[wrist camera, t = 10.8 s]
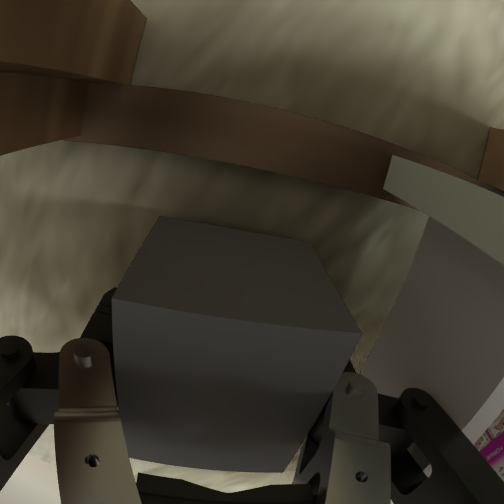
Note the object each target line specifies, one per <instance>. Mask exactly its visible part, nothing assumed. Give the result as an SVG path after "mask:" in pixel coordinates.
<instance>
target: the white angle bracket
mask: <svg viewBox="0 0 504 504" xmlns="http://www.w3.org/2000/svg"><path fill="white" fill-rule="evenodd" d="M383 189H384V190H386V191H388V192H389V193H391V194H393V195H395V196H397V197H398V198H400V199H402V200H404V201H405V202H407V203H409V204H410V205H412V206H414V207H415V208H417V209H419V210H421V211H422V212H424V213H425V214H427V215H429V218H428V221H427V224H426V227H425V229H424V232H423V235H422V238H421V240H420V243H419V246H418V248H417V251H416V254H415V256H414V259H413V261H412V264H411V266H410V269H409V271H408V274H407V276H406V278H405V281H404V283H403V285H402V288H401V290H400V292H399V295H398V297H397V299H396V301H395V304H394V306H393V308H392V310H391V312H390V314H389V316H388V319H387V321H386V323H385V325H384V327H383V329H382V331H381V333H380V335H379V337H378V339H377V341H376V343H375V345H374V347H373V349H372V351H371V353H370V355H369V357H368V358H367V360H366V362H365V364H364V366H363V368H362V370H361V371H360V372H361V375H363V376H365V377H366V378H368V379H369V380H370V381H371V382H372V383H373V384H374V385H375V387H376V389H377V393H379V394H383V395H387V396H391V397H396V398H399V397H400V395H401V394H402V392H403V391H404V390H405V389H407V388H418V389H421V390H424V391H426V392H427V393H429V394H430V395H431V396H432V397H433V398H434V399H435V400H436V402H437V403H438V404H439V405H440V406H441V407H442V409H443V410H444V411H445V412H446V413H447V414H448V415H449V417H450V418H451V419H452V420H453V421H454V422H455V424H456V425H457V426H458V427H459V428H460V430H461V431H462V432H463V433H464V434H465V435H466V437H467V438H468V439H469V440H470V441H471V443H472V444H474V443H475V442H476V440H477V439H478V438H479V437H480V436H481V435H482V434H483V433H484V432H485V431H486V429H487V428H488V427H489V426H490V425H491V424H492V423H493V421H494V420H495V419H496V418H497V417H498V415H499V414H500V413H501V412H502V411H503V409H504V197H503V196H500V195H498V194H496V193H494V192H491V191H489V190H487V189H484V188H482V187H479V186H477V185H475V184H472V183H470V182H467V181H465V180H462V179H460V178H457V177H454V176H452V175H449V174H447V173H444V172H441V171H438V170H436V169H433V168H430V167H427V166H424V165H422V164H419V163H416V162H413V161H410V160H407V159H404V158H400V157H397V156H394V155H392V159H391V162H390V166H389V170H388V173H387V177H386V180H385V183H384V187H383ZM407 450H408V451H409V453H410V454H411V455H412V457H413V458H414V459H415V461H416V462H417V464H418V465H419V466H420V468H421V469H422V470H423V472H424V473H425V474H426V476H427V477H428V478H429V477H430V475H431V473H432V467H431V464H430V462H429V461H428V460H427V458H426V457H425V456H424V454H423V453H422V452H421V450H420V449H419V448H418V446H417V445H416V444H415V442H413V443H412V444H411V446H410V447H409V448H408V449H407Z"/></svg>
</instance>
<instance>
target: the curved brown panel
mask: <svg viewBox="0 0 504 504" xmlns="http://www.w3.org/2000/svg"><path fill="white" fill-rule="evenodd" d="M146 20H147V18H146V17H145V16H144V15H143V14H142V13H141V11H140V10H139V9H138V8H137V7H136V6H135V5H134V4H133V3H132V2H131V1H130V0H0V156H1V155H4V154H8V153H11V152H15V151H18V150H22V149H26V148H29V147H33V146H37V145H41V144H45V143H50V142H54V141H58V140H66V141H78V142H88V143H98V144H107V145H116V146H124V147H132V148H140V149H147V150H154V151H161V152H168V153H175V154H181V155H187V156H193V157H199V158H205V159H211V160H216V161H222V162H227V163H232V164H237V165H243V166H248V167H253V168H257V169H262V170H267V171H272V172H276V173H281V174H285V175H290V176H294V177H299V178H303V179H307V180H311V181H315V182H320V183H324V184H328V185H332V186H336V187H339V188H343V189H347V190H351V191H355V192H358V193H362V194H366V195H369V196H373V197H377V198H380V199H384V200H387V201H391V202H394V203H397V204H401V205H404V206H407V207H411V208H414V209H417V208H415V207H414V206H412V205H410V204H409V203H407V202H405V201H404V200H402V199H400V198H398V197H397V196H395V195H393V194H391V193H389V192H388V191H386V190H384V189H383V187H384V183H385V180H386V177H387V173H388V170H389V166H390V162H391V159H392V155H394V156H397V157H400V158H404V159H407V160H410V161H413V162H416V163H419V164H422V165H424V166H427V167H430V168H433V169H436V170H438V171H441V172H444V173H447V174H449V175H452V176H454V177H457V178H460V179H462V180H465V181H467V182H470V183H472V184H475V185H477V186H479V187H482V188H484V189H487V190H489V191H491V192H494V193H496V194H498V195H500V196H503V197H504V130H501V129H496V128H490V132H489V137H488V141H487V146H486V150H485V154H484V158H483V162H482V166H481V169H480V173H479V177H478V180H477V179H475V178H473V177H471V176H469V175H467V174H465V173H463V172H461V171H458V170H456V169H454V168H452V167H450V166H447V165H445V164H443V163H440V162H438V161H436V160H433V159H431V158H429V157H426V156H424V155H421V154H419V153H416V152H414V151H411V150H409V149H406V148H404V147H401V146H398V145H396V144H393V143H390V142H388V141H385V140H382V139H379V138H376V137H373V136H370V135H368V134H365V133H362V132H359V131H355V130H352V129H349V128H346V127H343V126H340V125H336V124H333V123H330V122H326V121H323V120H319V119H316V118H312V117H308V116H305V115H301V114H297V113H293V112H289V111H285V110H281V109H277V108H273V107H268V106H264V105H259V104H255V103H250V102H245V101H240V100H235V99H230V98H224V97H219V96H213V95H207V94H201V93H194V92H187V91H180V90H172V89H164V88H155V87H145V86H134V85H131V80H132V75H133V71H134V66H135V62H136V58H137V53H138V49H139V45H140V42H141V38H142V34H143V30H144V27H145V23H146ZM417 210H419V209H417ZM420 211H421V210H420Z"/></svg>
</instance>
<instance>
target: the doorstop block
mask: <svg viewBox="0 0 504 504" xmlns="http://www.w3.org/2000/svg"><path fill="white" fill-rule="evenodd" d="M112 331H113V352H114V367H115V380H116V390H117V400H118V409H119V414H120V419H121V424H122V429H123V433H124V438H125V443H126V447H127V451H128V455H129V458H134V459H139V460H144V461H150V462H155V463H161V464H168V465H175V466H182V467H190V468H199V469H209V470H221V471H236V472H284V470H285V469H286V467H287V466H288V464H289V463H290V461H291V460H292V458H293V457H294V455H295V454H296V452H297V451H298V449H299V447H300V446H301V444H302V443H303V441H304V439H305V438H306V436H307V435H308V433H309V431H310V430H311V428H312V426H313V425H314V423H315V421H316V420H317V418H318V416H319V414H320V413H321V411H322V409H323V408H324V406H325V404H326V402H327V400H328V399H329V397H330V395H331V393H332V391H333V390H334V388H335V386H336V384H337V382H338V380H339V378H340V376H341V375H342V373H343V371H344V369H345V367H346V365H347V363H348V361H349V359H350V357H351V355H352V353H353V351H354V349H355V347H356V345H357V343H358V341H359V339H360V336H361V334H362V332H361V331H360V329H359V327H358V325H357V324H356V322H355V320H354V318H353V316H352V315H351V313H350V311H349V309H348V308H347V306H346V304H345V302H344V301H343V299H342V297H341V296H340V294H339V292H338V290H337V289H336V287H335V285H334V284H333V282H332V280H331V278H330V277H329V275H328V273H327V272H326V270H325V268H324V267H323V265H322V263H321V262H320V260H319V258H318V257H317V255H316V253H315V252H314V250H313V248H312V247H311V245H310V243H309V242H304V241H299V240H293V239H288V238H283V237H277V236H272V235H266V234H261V233H255V232H250V231H244V230H239V229H233V228H227V227H222V226H216V225H210V224H204V223H199V222H193V221H187V220H181V219H175V218H169V217H163V216H159V218H158V220H157V221H156V223H155V225H154V226H153V228H152V229H151V231H150V233H149V234H148V236H147V238H146V239H145V241H144V243H143V244H142V246H141V248H140V249H139V251H138V253H137V254H136V256H135V258H134V259H133V261H132V263H131V265H130V266H129V268H128V270H127V272H126V273H125V275H124V277H123V279H122V281H121V282H120V284H119V286H118V288H117V290H116V291H115V293H114V295H113V297H112Z"/></svg>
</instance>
